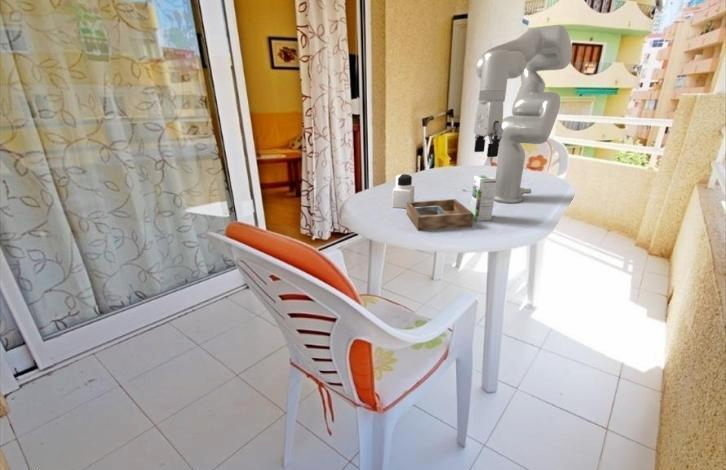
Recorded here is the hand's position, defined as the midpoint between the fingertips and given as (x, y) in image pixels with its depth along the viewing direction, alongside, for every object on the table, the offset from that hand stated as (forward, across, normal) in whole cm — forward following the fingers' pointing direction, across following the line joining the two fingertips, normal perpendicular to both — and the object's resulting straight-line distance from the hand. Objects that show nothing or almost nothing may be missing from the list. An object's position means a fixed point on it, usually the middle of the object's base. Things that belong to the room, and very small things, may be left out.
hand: (485, 154), depth 109 cm
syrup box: (+22, 0, +1) cm, 22 cm away
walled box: (+22, 0, -14) cm, 26 cm away
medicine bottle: (+22, -18, -23) cm, 37 cm away
